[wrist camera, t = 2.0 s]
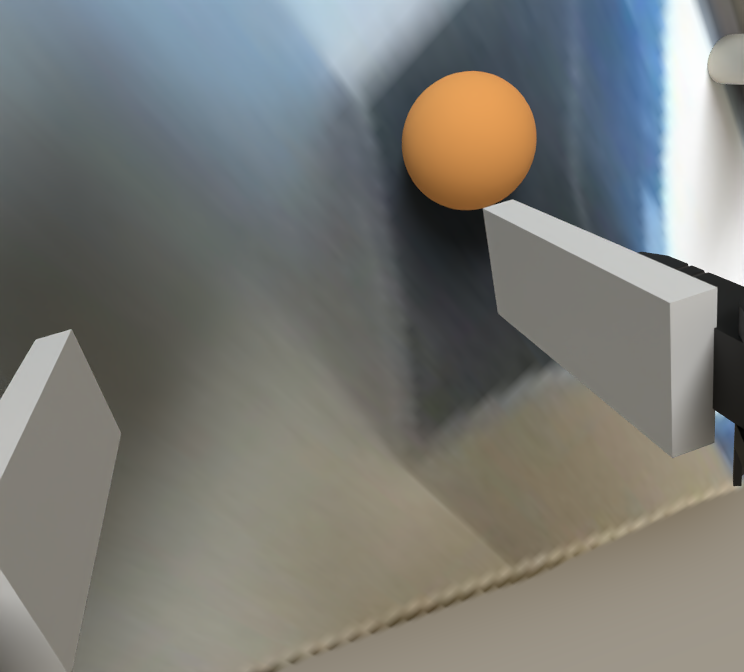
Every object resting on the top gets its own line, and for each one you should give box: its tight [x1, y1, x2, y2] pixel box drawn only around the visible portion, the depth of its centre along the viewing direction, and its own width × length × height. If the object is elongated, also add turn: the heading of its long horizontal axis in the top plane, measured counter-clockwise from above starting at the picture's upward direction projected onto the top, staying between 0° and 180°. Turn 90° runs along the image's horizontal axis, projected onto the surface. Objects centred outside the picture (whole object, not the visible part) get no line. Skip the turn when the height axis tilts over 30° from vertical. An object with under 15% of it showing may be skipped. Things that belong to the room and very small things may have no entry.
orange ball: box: [402, 71, 536, 210], centre depth 29 cm, size 6×6×6 cm
